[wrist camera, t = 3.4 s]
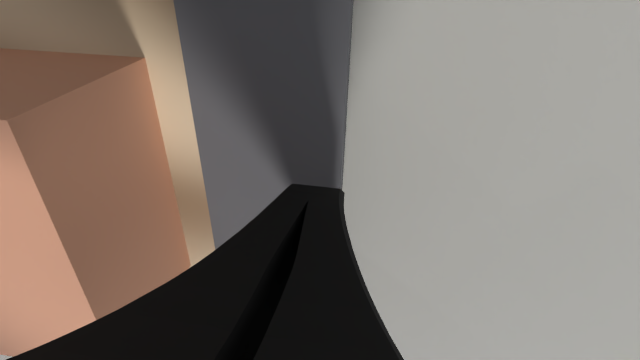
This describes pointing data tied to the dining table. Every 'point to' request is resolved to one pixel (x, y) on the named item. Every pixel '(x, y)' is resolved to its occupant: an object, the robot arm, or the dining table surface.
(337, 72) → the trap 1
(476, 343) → the dining table surface
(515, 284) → the dining table surface
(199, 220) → the dark brown flat frame
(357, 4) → the dining table surface
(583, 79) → the dining table surface
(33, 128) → the block
